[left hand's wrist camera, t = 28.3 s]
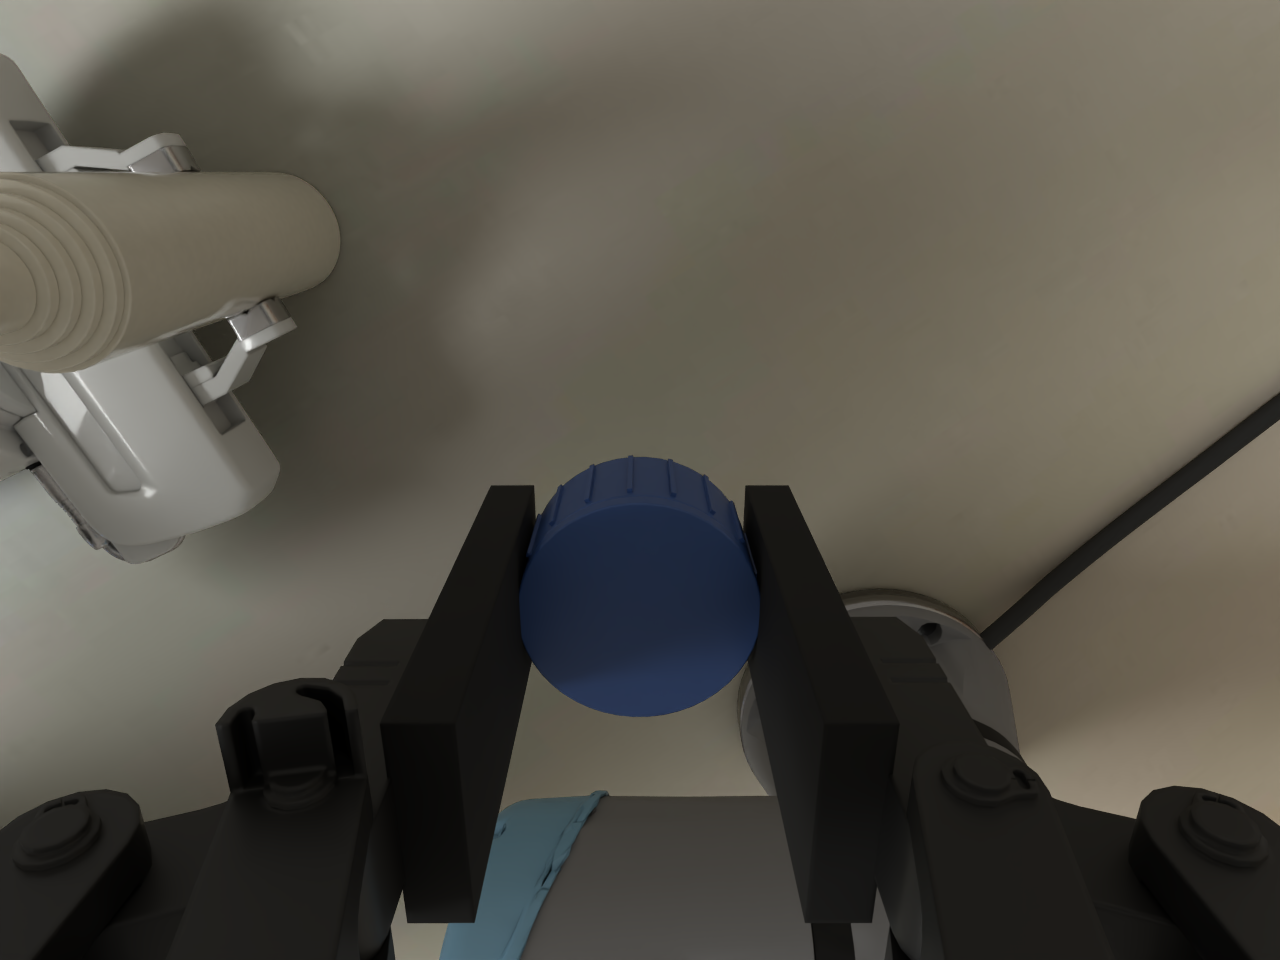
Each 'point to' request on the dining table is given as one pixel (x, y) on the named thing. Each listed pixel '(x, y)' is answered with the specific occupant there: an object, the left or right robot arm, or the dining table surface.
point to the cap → (639, 589)
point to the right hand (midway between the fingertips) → (234, 234)
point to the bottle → (148, 257)
